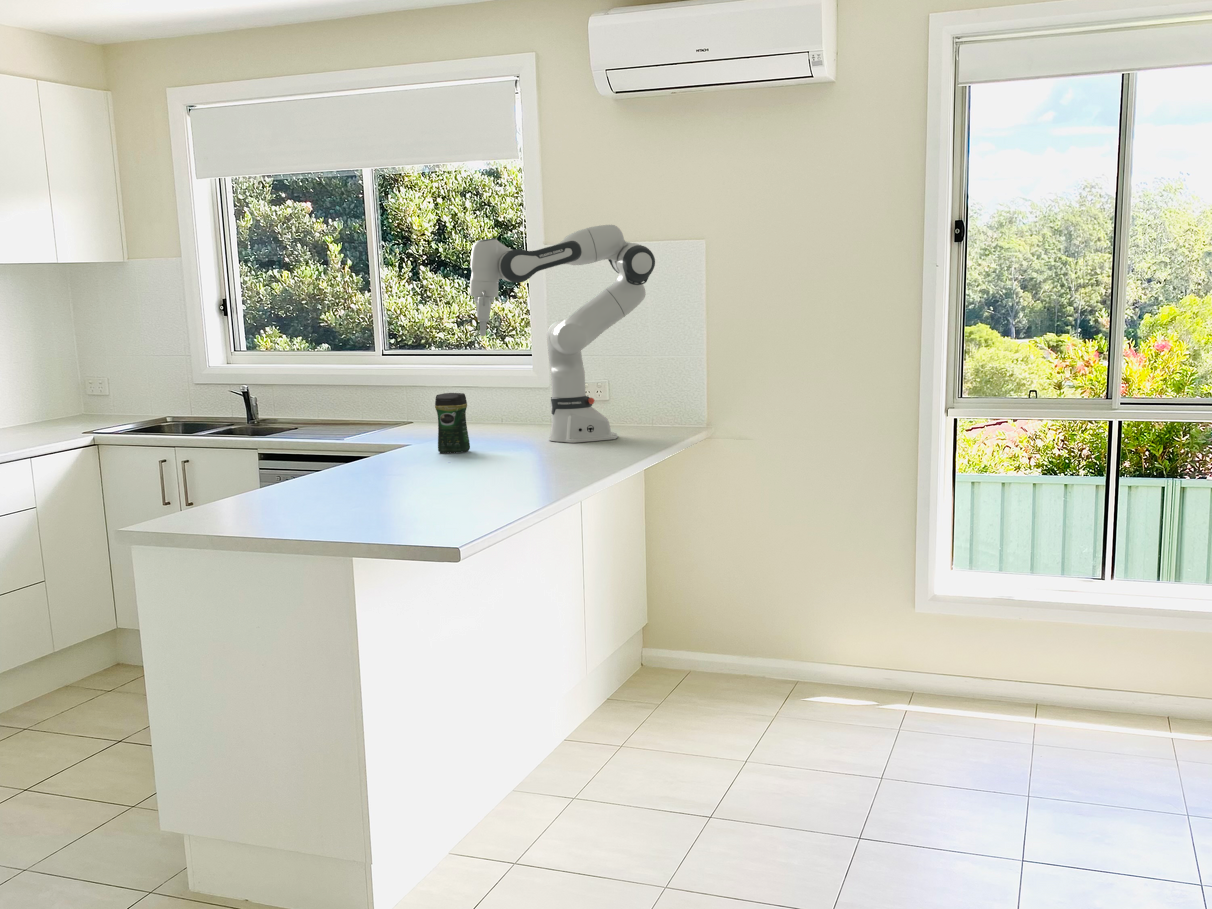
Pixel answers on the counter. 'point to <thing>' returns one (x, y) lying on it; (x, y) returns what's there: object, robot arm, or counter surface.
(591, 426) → the robot arm
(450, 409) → the coffee jar
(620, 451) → the counter surface
